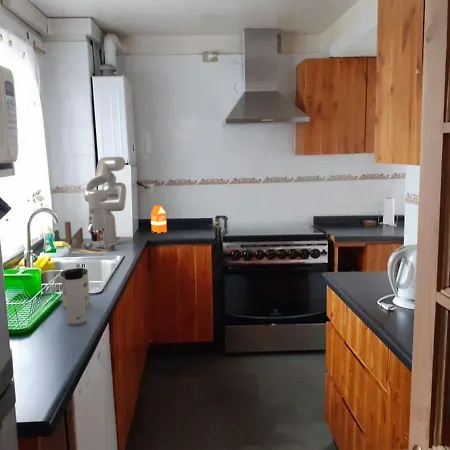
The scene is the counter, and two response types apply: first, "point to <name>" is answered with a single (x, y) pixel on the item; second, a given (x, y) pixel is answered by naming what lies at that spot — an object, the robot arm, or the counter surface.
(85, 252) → the jig
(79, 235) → the brown long handled part
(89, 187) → the robot arm
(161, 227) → the orange juice
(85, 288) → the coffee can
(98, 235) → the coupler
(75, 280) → the travel mug
